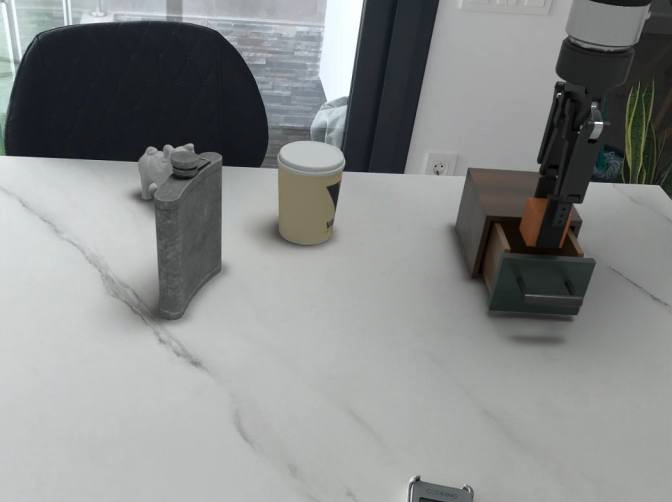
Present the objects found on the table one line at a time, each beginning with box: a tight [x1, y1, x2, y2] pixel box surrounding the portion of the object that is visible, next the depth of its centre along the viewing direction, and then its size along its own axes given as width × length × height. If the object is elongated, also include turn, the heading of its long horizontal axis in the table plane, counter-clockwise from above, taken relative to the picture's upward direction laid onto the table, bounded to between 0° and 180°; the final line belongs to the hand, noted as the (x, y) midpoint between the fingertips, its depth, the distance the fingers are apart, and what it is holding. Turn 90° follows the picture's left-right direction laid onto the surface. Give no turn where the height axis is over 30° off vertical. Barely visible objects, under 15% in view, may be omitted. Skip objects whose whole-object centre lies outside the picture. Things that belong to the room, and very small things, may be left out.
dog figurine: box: [137, 143, 195, 201], centre depth 114 cm, size 5×13×11 cm, turn 44°
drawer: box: [480, 221, 597, 317], centre depth 99 cm, size 18×11×8 cm, turn 179°
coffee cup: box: [276, 140, 346, 246], centre depth 109 cm, size 9×9×12 cm
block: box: [519, 198, 572, 248], centre depth 96 cm, size 4×4×4 cm
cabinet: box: [454, 167, 584, 280], centre depth 109 cm, size 15×13×10 cm
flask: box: [153, 151, 223, 321], centre depth 94 cm, size 4×14×18 cm, turn 160°
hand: (542, 236), depth 97 cm, fingers closed on block, 4 cm apart
